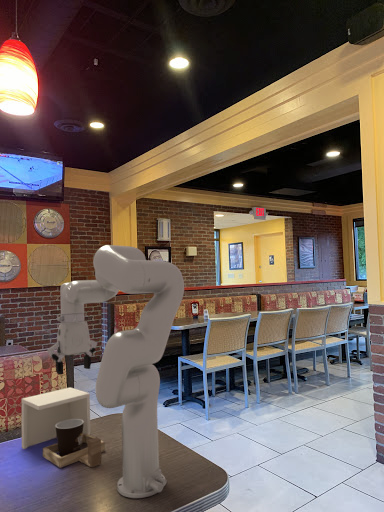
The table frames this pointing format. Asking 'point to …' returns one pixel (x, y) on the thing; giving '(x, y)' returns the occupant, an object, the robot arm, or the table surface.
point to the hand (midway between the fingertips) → (74, 371)
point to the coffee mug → (69, 436)
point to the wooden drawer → (77, 453)
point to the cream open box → (52, 414)
